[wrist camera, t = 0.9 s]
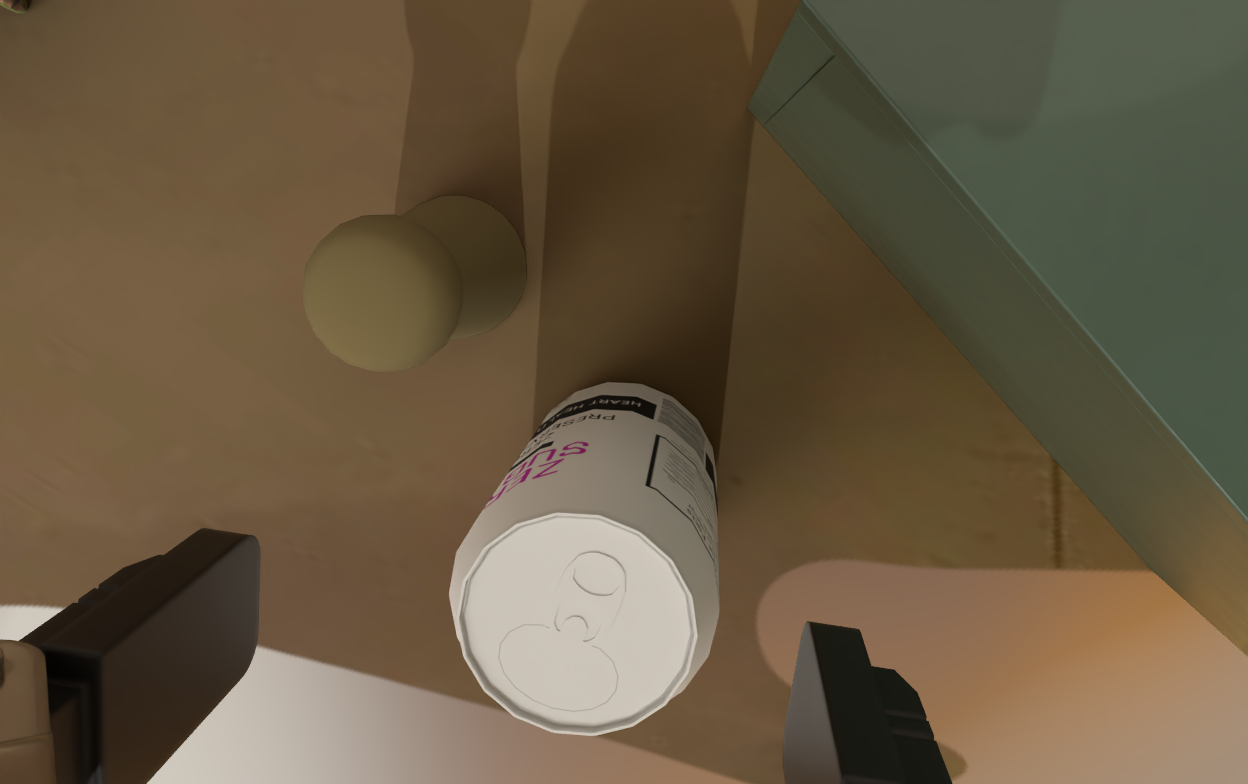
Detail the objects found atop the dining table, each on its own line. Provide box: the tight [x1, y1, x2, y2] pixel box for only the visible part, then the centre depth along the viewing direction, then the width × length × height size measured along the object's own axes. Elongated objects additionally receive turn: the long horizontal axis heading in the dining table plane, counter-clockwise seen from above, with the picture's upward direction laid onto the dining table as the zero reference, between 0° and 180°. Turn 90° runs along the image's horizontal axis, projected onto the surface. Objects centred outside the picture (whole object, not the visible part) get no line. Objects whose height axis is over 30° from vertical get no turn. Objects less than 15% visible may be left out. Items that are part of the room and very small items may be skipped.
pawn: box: [302, 195, 527, 372], centre depth 35 cm, size 6×6×11 cm
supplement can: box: [449, 382, 719, 736], centre depth 34 cm, size 8×8×15 cm
